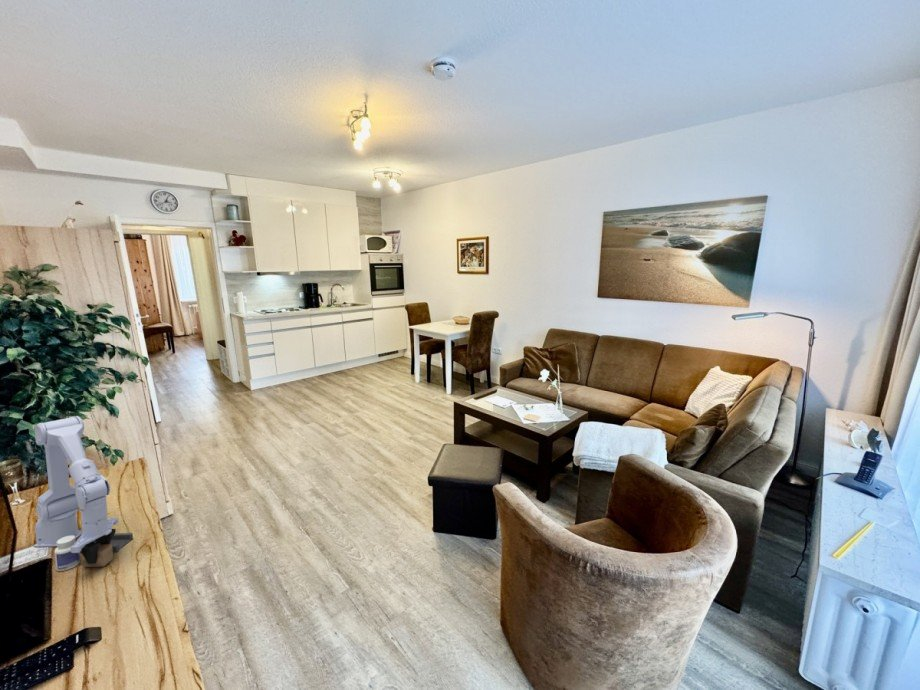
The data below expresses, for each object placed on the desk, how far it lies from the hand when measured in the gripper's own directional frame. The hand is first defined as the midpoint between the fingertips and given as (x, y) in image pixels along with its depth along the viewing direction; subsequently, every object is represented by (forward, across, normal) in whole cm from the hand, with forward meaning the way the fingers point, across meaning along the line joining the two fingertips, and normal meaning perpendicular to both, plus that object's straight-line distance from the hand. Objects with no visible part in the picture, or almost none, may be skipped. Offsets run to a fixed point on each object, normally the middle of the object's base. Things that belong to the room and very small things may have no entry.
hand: (97, 558), depth 116 cm
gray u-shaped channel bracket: (+2, +9, +4) cm, 10 cm away
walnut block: (+2, 0, 0) cm, 2 cm away
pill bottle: (+2, 0, +8) cm, 9 cm away
